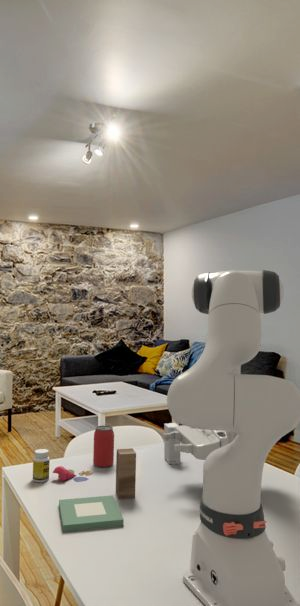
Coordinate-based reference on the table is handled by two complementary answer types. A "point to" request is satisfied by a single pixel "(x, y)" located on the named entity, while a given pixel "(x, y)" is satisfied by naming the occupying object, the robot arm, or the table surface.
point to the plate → (89, 513)
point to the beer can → (103, 446)
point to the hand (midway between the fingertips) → (168, 442)
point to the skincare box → (171, 445)
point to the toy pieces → (70, 474)
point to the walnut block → (125, 473)
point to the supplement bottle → (41, 465)
